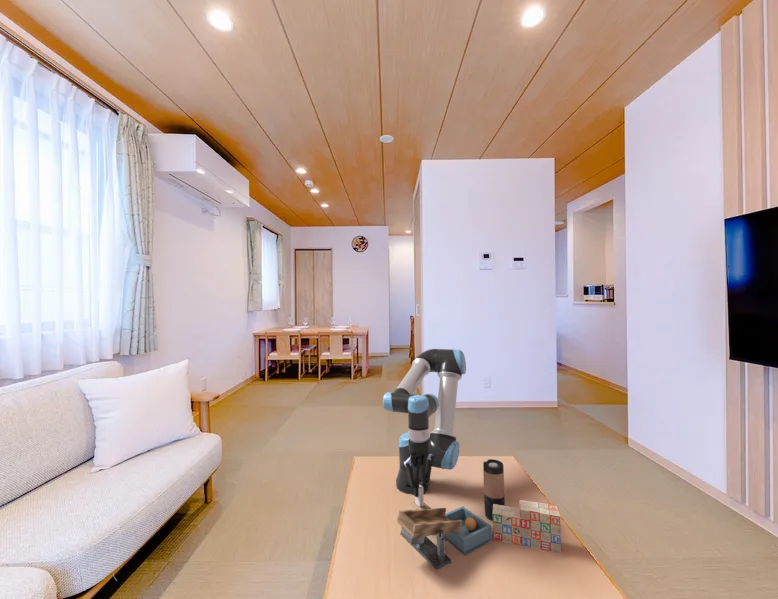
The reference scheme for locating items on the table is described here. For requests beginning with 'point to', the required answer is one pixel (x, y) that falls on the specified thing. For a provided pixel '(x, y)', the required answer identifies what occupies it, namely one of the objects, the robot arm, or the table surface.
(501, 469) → the travel mug
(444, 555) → the stand
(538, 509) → the stack of blocks
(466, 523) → the ball
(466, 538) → the tub
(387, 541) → the table surface
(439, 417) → the robot arm
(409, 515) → the chute
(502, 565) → the table surface
